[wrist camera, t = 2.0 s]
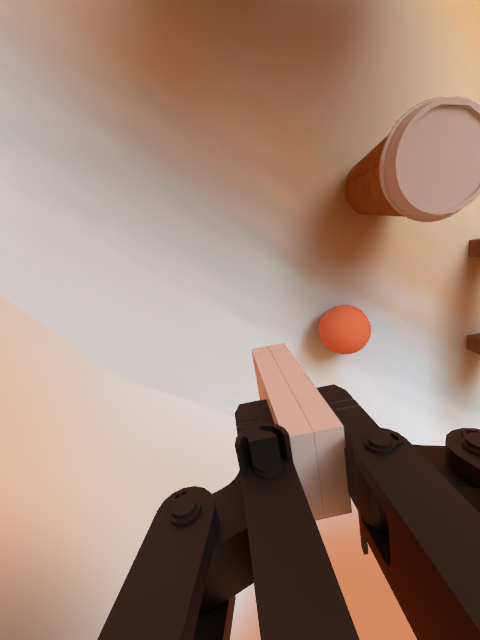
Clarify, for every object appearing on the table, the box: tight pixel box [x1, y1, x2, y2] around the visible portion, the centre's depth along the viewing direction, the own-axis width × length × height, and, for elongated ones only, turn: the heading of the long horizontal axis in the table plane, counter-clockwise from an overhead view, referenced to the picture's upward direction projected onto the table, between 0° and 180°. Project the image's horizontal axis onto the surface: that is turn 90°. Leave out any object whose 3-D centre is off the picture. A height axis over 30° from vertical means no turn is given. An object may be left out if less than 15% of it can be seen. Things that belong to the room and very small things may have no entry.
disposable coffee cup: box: [346, 97, 480, 222], centre depth 29 cm, size 10×10×12 cm
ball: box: [319, 305, 371, 354], centre depth 36 cm, size 6×6×6 cm
